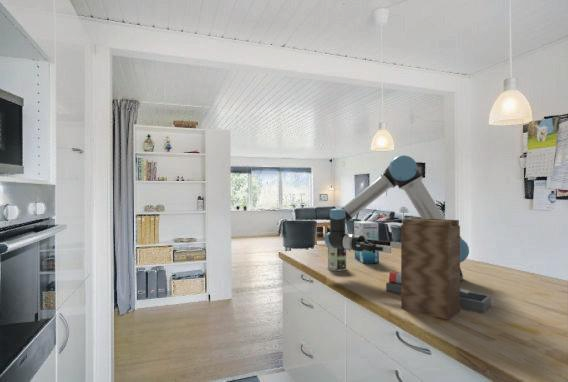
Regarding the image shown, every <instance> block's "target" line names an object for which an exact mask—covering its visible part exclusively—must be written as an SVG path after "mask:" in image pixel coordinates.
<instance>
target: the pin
mask: <svg viewBox="0 0 568 382" xmlns="http://www.w3.org/2000/svg"><path fill="white" fill-rule="evenodd" d="M388 282H392V283H395V284H399V285H401V271H395V270H392V271H389V276H388ZM470 292H471V290H468V289H464V288H461V287H460V297H461V298H466V299H470Z"/></svg>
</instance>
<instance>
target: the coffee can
mask: <svg viewBox="0 0 568 382" xmlns="http://www.w3.org/2000/svg"><path fill="white" fill-rule="evenodd" d="M327 269H328V270H329V271H333V272H334V271H335V272H336V271H337V272H343V271H346V270H347V249H338V248H332V247H328V246H327Z"/></svg>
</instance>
